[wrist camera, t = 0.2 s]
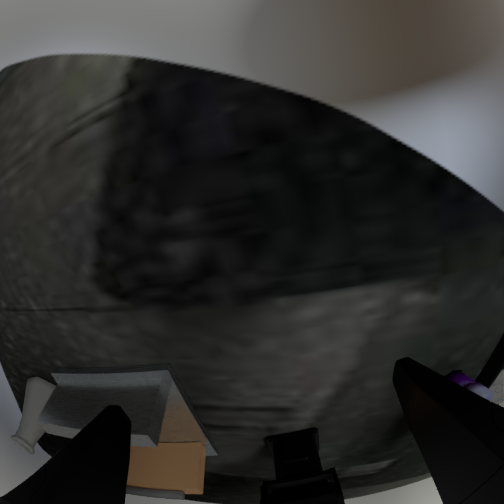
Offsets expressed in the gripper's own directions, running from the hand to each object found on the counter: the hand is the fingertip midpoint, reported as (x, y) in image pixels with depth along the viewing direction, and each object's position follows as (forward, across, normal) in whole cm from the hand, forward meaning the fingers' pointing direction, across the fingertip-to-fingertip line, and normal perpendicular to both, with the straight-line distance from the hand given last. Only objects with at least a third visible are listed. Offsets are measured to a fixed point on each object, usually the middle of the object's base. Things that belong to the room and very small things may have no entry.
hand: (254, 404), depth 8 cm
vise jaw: (+13, +17, +24) cm, 33 cm away
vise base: (+15, +17, +19) cm, 29 cm away
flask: (+15, +30, +15) cm, 37 cm away
